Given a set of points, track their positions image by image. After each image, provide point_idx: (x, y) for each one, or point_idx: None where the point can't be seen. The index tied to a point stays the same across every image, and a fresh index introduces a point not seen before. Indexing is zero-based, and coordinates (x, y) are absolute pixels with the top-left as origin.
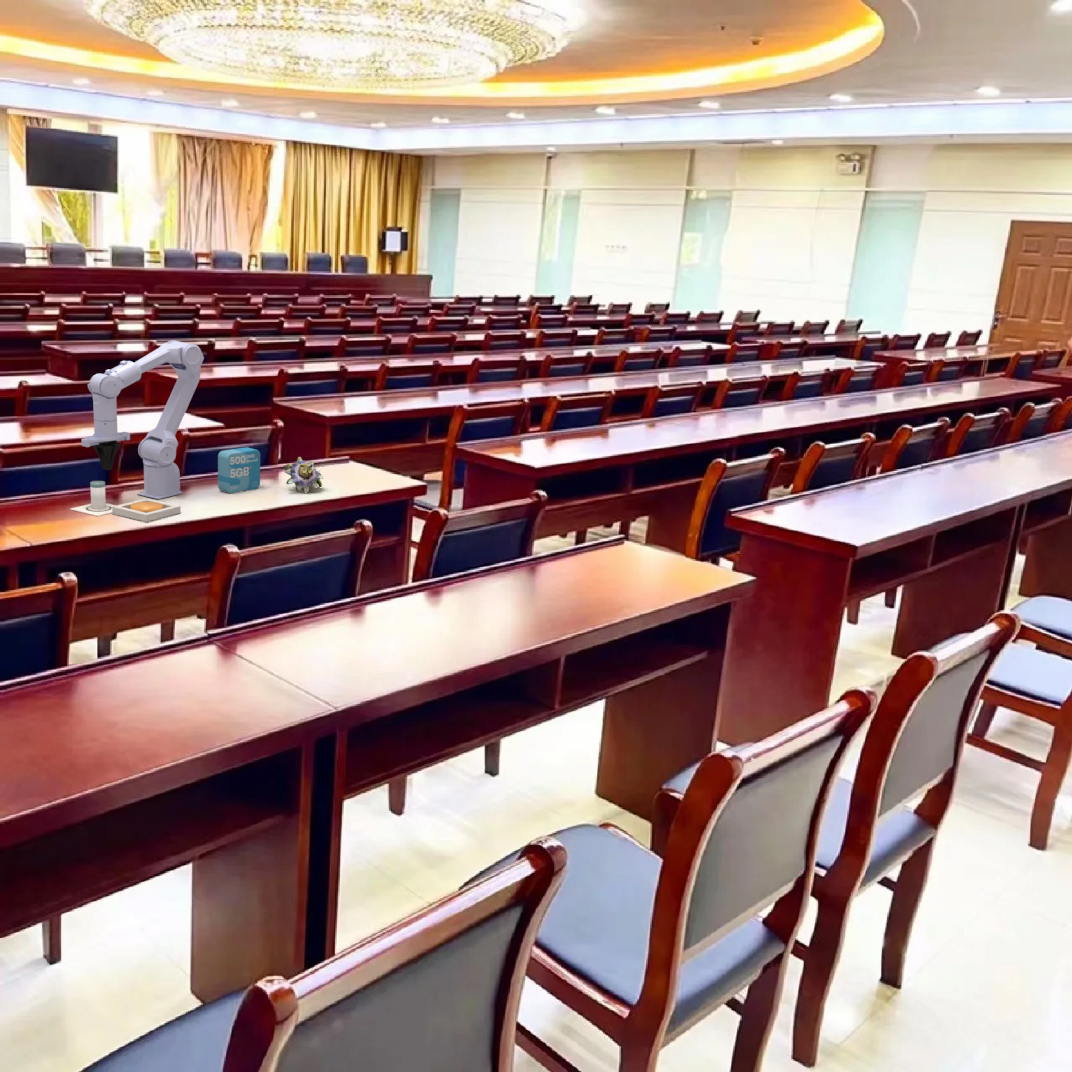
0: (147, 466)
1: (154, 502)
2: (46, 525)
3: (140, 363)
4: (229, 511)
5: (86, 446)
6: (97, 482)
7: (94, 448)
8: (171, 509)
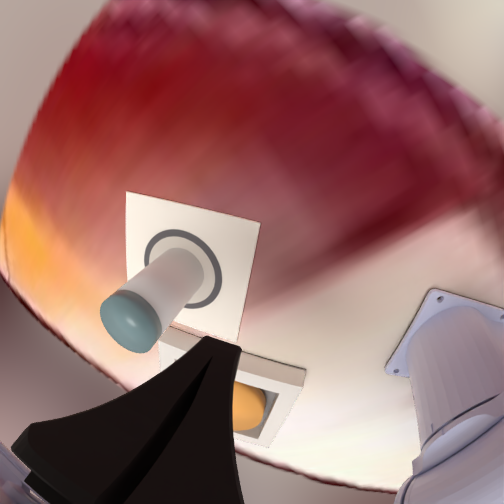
0: (436, 430)
1: (257, 415)
2: (39, 238)
3: None
4: (329, 470)
5: None
6: (124, 327)
7: (55, 424)
8: (240, 438)
